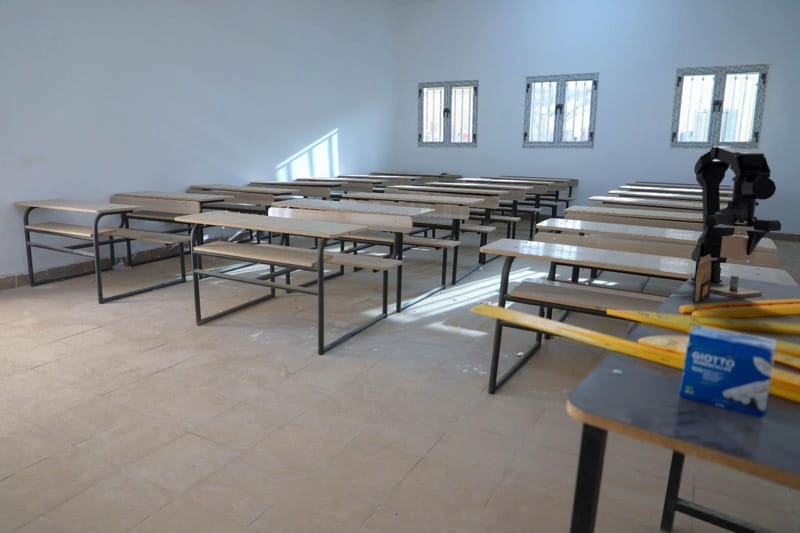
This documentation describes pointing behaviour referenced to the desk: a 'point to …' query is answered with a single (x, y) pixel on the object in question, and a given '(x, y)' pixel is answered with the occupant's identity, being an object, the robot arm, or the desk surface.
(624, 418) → the desk surface
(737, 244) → the collar
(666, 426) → the desk surface
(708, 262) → the ammunition clip
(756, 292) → the pin board
